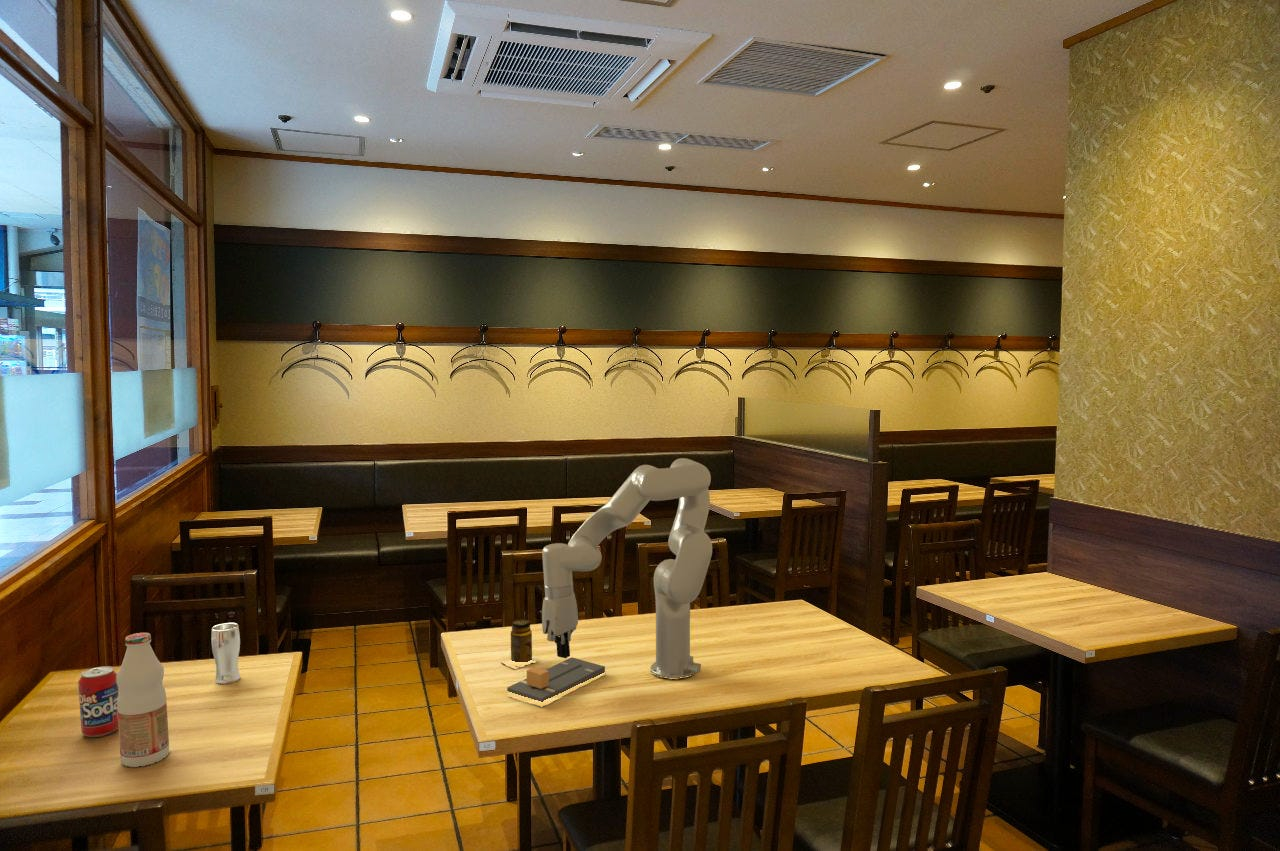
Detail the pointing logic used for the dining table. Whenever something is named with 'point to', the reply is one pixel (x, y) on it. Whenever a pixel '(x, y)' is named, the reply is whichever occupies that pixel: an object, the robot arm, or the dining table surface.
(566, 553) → the robot arm
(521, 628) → the condiment
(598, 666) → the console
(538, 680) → the fader tab
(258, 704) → the dining table surface
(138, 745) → the fruit juice
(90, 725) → the soda can
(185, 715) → the dining table surface
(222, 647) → the beer glass
